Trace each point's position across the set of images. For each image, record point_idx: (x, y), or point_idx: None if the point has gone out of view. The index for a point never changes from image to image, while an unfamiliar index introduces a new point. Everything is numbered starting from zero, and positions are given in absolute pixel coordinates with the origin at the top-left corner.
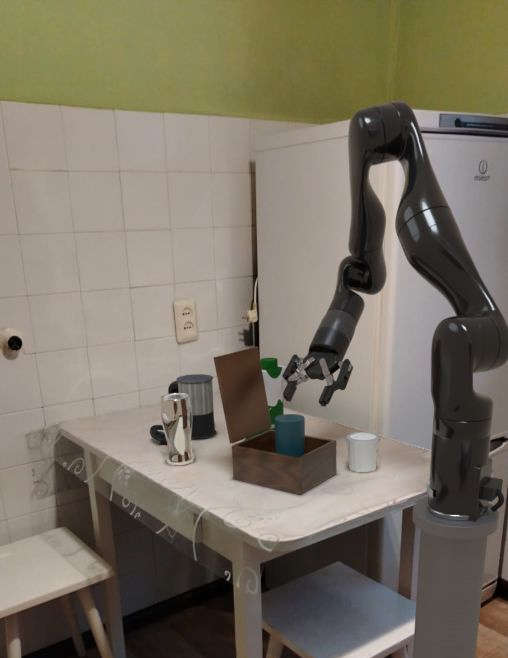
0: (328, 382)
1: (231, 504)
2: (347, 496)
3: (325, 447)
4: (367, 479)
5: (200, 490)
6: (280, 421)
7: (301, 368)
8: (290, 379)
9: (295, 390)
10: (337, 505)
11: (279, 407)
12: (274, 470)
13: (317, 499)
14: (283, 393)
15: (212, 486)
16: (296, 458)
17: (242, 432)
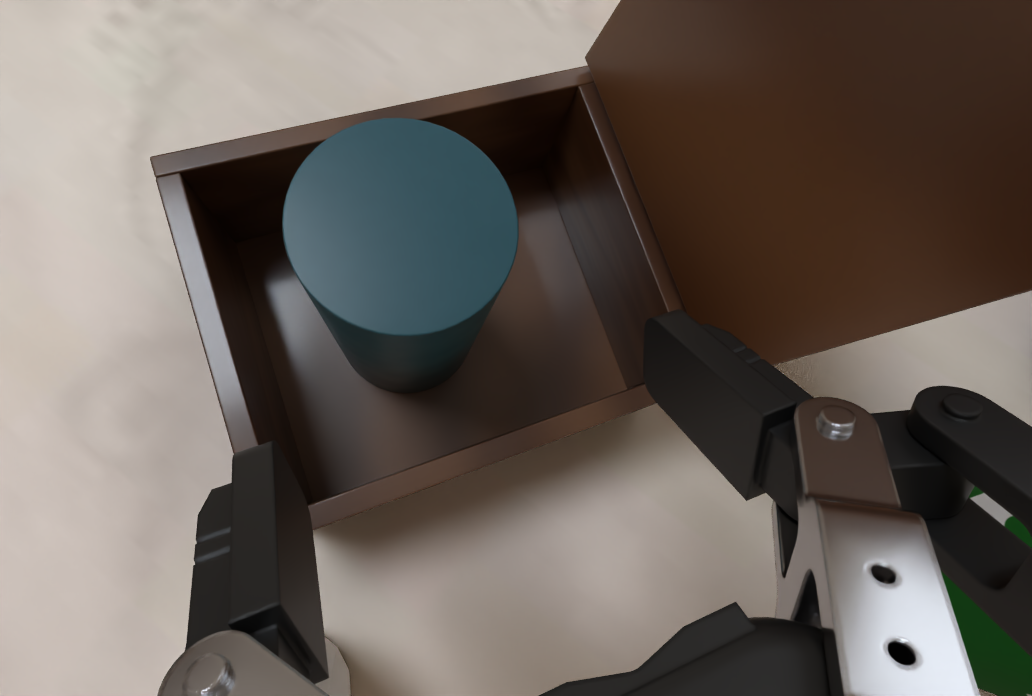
0: (222, 661)
1: (333, 10)
2: (49, 379)
3: (225, 418)
4: (137, 604)
5: (523, 15)
6: (375, 121)
7: (889, 582)
8: (821, 415)
9: (721, 470)
10: (7, 279)
11: (1015, 647)
12: None
13: (127, 261)
14: (717, 329)
15: (530, 64)
16: (172, 152)
17: (636, 117)
